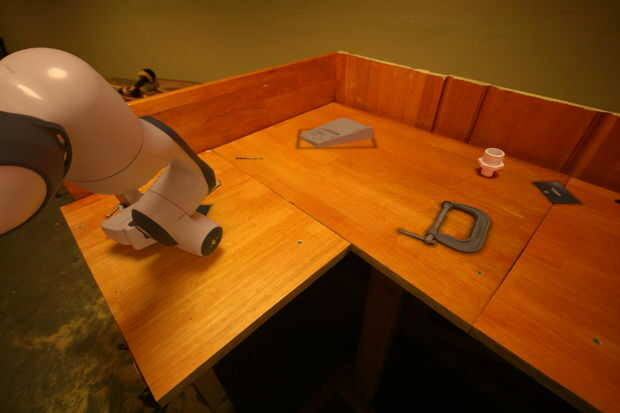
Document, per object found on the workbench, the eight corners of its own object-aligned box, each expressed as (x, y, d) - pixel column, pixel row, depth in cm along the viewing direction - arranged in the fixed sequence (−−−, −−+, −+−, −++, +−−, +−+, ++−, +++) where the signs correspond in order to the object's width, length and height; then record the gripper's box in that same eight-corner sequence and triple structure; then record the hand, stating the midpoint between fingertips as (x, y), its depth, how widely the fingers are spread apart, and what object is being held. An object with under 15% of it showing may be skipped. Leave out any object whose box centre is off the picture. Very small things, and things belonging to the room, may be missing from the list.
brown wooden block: (138, 229, 74) (111, 195, 70) (129, 230, 77) (103, 197, 73) (164, 210, 79) (140, 178, 75) (155, 212, 83) (132, 180, 79)
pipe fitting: (492, 169, 97) (501, 146, 92) (500, 181, 91) (511, 158, 86) (471, 168, 97) (479, 146, 92) (478, 181, 92) (487, 157, 87)
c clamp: (469, 268, 66) (473, 259, 64) (397, 233, 75) (399, 225, 73) (496, 220, 78) (500, 212, 76) (431, 195, 87) (434, 187, 85)
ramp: (297, 149, 110) (297, 136, 107) (299, 131, 122) (299, 118, 119) (375, 148, 109) (377, 134, 106) (369, 130, 121) (370, 117, 118)
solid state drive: (552, 204, 82) (553, 202, 81) (532, 183, 90) (533, 181, 89) (579, 204, 82) (580, 202, 81) (556, 183, 89) (558, 181, 89)
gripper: (195, 184, 76) (159, 170, 82) (119, 234, 62) (83, 213, 68) (201, 204, 80) (167, 189, 86) (131, 255, 66) (96, 233, 72)
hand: (129, 200), depth 77 cm, fingers open, 4 cm apart
